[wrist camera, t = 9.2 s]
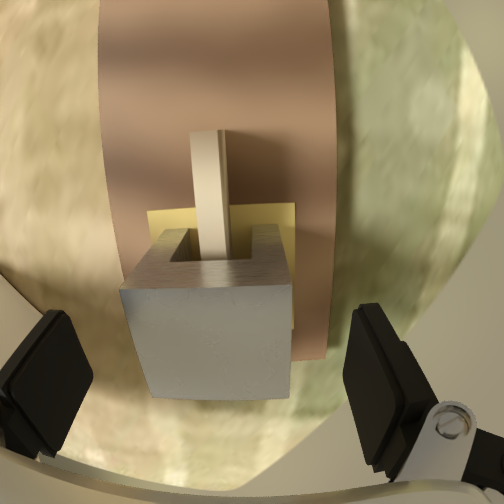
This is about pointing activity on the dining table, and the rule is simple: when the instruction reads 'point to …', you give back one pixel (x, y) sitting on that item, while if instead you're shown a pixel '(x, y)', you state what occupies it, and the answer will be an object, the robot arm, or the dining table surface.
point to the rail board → (224, 136)
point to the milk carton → (14, 319)
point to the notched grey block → (212, 319)
